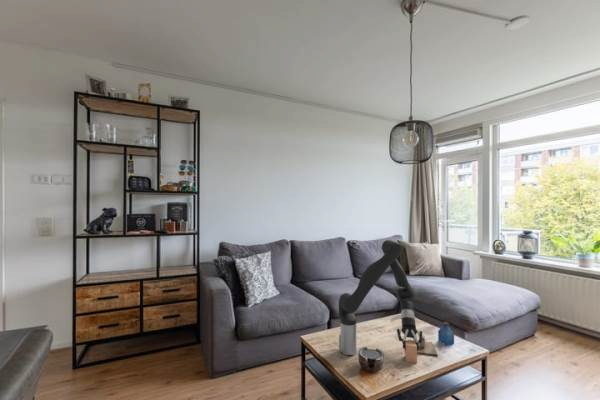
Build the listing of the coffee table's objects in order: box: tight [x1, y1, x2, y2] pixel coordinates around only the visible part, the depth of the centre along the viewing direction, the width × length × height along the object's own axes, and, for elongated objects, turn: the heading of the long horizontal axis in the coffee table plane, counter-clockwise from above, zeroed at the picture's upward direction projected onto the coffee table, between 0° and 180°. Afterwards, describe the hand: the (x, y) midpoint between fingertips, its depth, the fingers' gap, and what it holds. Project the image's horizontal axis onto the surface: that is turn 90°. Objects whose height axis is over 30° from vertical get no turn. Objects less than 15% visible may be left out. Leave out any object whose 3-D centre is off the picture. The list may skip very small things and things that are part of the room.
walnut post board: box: [407, 335, 439, 357], centre depth 166 cm, size 14×14×7 cm
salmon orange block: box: [404, 339, 418, 364], centre depth 155 cm, size 6×6×9 cm
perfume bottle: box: [437, 321, 455, 346], centre depth 173 cm, size 6×6×12 cm
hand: (411, 349), depth 153 cm, fingers closed on salmon orange block, 5 cm apart
